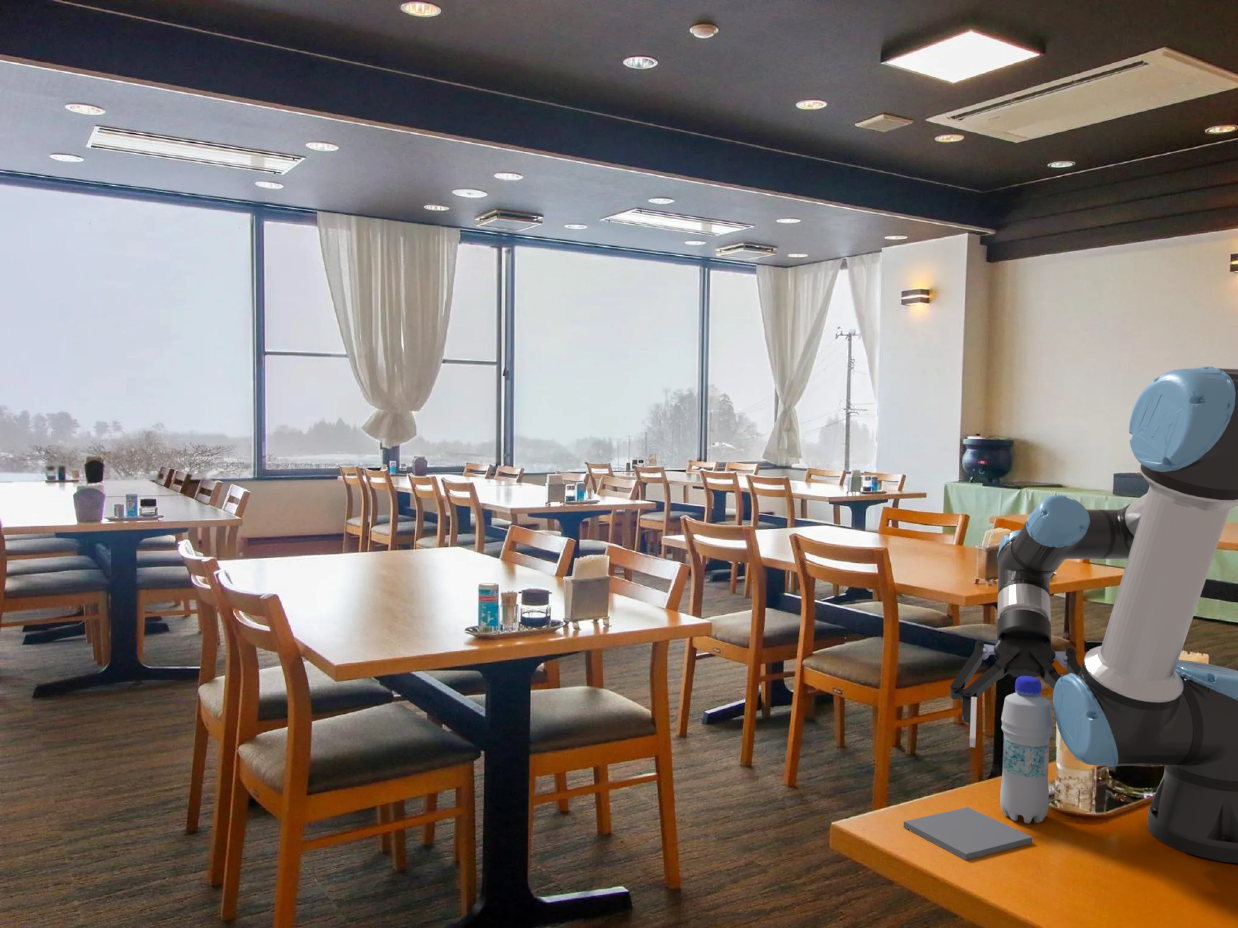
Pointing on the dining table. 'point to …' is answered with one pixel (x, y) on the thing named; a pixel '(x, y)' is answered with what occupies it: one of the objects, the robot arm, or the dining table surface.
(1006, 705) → the bottle
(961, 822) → the mat
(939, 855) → the dining table surface
